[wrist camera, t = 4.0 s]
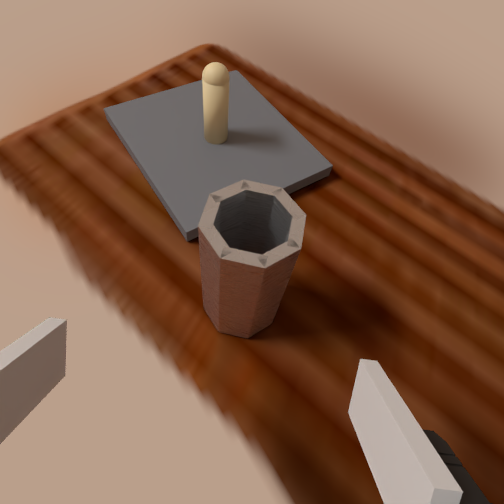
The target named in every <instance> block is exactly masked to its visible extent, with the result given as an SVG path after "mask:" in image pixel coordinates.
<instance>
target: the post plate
mask: <svg viewBox="0 0 504 504" xmlns="http://www.w3.org/2000/svg"><path fill="white" fill-rule="evenodd" d="M104 111H105V114H106V117H107V120H108V122H109V123H110V125H111V126H112V128H113V129H114V131H115V132H116V134H117V135H118V137H119V138H120V140H121V141H122V143H123V144H124V146H125V147H126V149H127V151H128V152H129V154H130V155H131V157H132V158H133V160H134V161H135V163H136V164H137V166H138V167H139V169H140V170H141V172H142V173H143V175H144V176H145V178H146V179H147V181H148V182H149V184H150V186H151V187H152V189H153V190H154V192H155V193H156V195H157V196H158V198H159V199H160V201H161V202H162V204H163V205H164V207H165V208H166V210H167V211H168V213H169V214H170V216H171V217H172V219H173V221H174V222H175V224H176V225H177V227H178V228H179V230H180V231H181V233H182V234H183V236H184V237H185V239H186V240H187V241H189V240H192V239H194V238H196V237H198V236H199V235H198V224H199V222H200V219H201V216H202V213H203V210H204V208H205V205H206V202H207V199H208V197H209V194H211V193H213V192H215V191H218V190H220V189H222V188H225V187H227V186H229V185H232V184H234V183H236V182H239V181H241V180H249V181H253V182H258V183H263V184H267V185H272V186H277V187H281V188H283V189H284V190H285V191H286V193H287V194H290V193H292V192H294V191H297V190H299V189H301V188H303V187H305V186H307V185H309V184H312V183H314V182H316V181H318V180H320V179H322V178H324V177H327V176H329V174H330V171H331V169H332V165H331V164H330V163H329V162H328V161H327V160H326V159H325V158H324V157H323V156H322V155H321V154H320V153H319V152H318V151H317V150H316V149H315V148H314V147H313V146H312V145H311V144H310V143H309V142H308V141H307V140H306V139H305V138H304V137H303V136H302V135H301V134H300V133H299V132H298V131H297V130H296V129H295V128H294V127H293V126H292V125H291V124H290V123H289V122H288V121H287V120H286V119H285V118H284V117H283V116H282V115H281V114H280V113H279V112H278V111H277V110H276V109H275V108H274V107H273V106H272V105H271V104H270V103H269V102H268V101H267V100H266V99H265V98H264V97H263V96H262V95H261V94H260V93H259V92H258V91H257V90H256V89H255V88H254V87H253V86H252V85H251V84H250V83H249V82H248V81H247V80H246V79H245V78H244V77H243V76H242V75H241V74H240V73H239V72H238V71H237V70H235V71H231V72H228V70H227V68H226V67H225V66H224V65H223V64H221V63H218V62H213V63H210V64H208V65H207V66H206V67H205V69H204V70H203V74H202V80H200V81H197V82H193V83H190V84H187V85H183V86H180V87H176V88H173V89H169V90H166V91H162V92H159V93H155V94H152V95H149V96H145V97H142V98H138V99H135V100H131V101H128V102H124V103H121V104H117V105H114V106H111V107H107V108H104Z"/></svg>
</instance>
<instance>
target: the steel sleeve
mask: <svg viewBox="0 0 504 504" xmlns="http://www.w3.org/2000/svg"><path fill="white" fill-rule="evenodd" d="M305 219H306V214H305V213H304V212H303V211H302V210H301V209H300V207H299V206H298V205H297V204H296V203H295V202H294V201H293V199H292V198H291V197H290V196H289V195H288V194H287V193H286V191H285V190H284V189H283V188H281V187H277V186H272V185H267V184H263V183H258V182H253V181H249V180H241V181H239V182H236V183H234V184H232V185H229V186H227V187H225V188H222V189H220V190H218V191H215V192H213V193H211V194H209V197H208V199H207V202H206V205H205V208H204V210H203V213H202V216H201V219H200V222H199V224H198V235H199V249H200V263H201V277H202V291H203V305H204V309H205V311H206V312H207V314H208V316H209V317H210V319H211V321H212V322H213V324H214V325H215V327H216V329H217V330H218V332H221V333H226V334H230V335H234V336H239V337H243V338H247V339H248V338H249V337H251V336H253V335H254V334H256V333H258V332H259V331H261V330H262V329H264V328H266V327H267V326H269V325H270V324H272V322H273V320H274V317H275V315H276V312H277V309H278V307H279V304H280V302H281V299H282V297H283V294H284V291H285V289H286V286H287V284H288V281H289V279H290V276H291V273H292V271H293V268H294V266H295V263H296V261H297V258H298V255H299V253H300V250H301V246H302V239H303V232H304V226H305Z"/></svg>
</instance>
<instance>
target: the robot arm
mask: <svg viewBox="0 0 504 504" xmlns="http://www.w3.org/2000/svg"><path fill="white" fill-rule="evenodd" d="M66 326H67V320H66V319H58V318H51V317H49V318H48V319H46V320H45V321H43V322H42V323H40V324H39V325H37V326H36V327H35V328H33V329H32V330H30V331H29V332H27V333H26V334H24V335H23V336H21V337H20V338H19V339H17V340H16V341H14V342H13V343H11V344H10V345H9V346H7V347H6V348H4V349H3V350H1V351H0V444H1V443H2V442H3V441H4V440H5V438H6V437H7V436H8V435H9V434H10V433H11V432H12V431H13V430H14V429H15V428H16V427H17V426H18V425H19V424H20V423H21V422H22V420H24V418H25V417H26V416H27V415H28V414H29V413H30V412H31V411H32V410H33V409H34V408H35V407H36V406H37V405H38V404H39V403H40V402H41V400H42V399H43V398H44V397H45V396H46V395H47V394H48V393H49V392H50V391H51V390H52V389H53V388H54V387H55V386H56V385H57V384H58V382H60V380H61V379H62V378H63V377H64V376H65V364H66V363H65V362H66V328H67V327H66ZM348 413H349V416H350V418H351V421H352V423H353V426H354V428H355V431H356V433H357V436H358V439H359V441H360V444H361V446H362V449H363V451H364V454H365V456H366V459H367V462H368V464H369V467H370V469H371V472H372V474H373V477H374V479H375V482H376V484H377V487H378V490H379V492H380V495H381V497H382V500H383V502H384V504H492V503H489V501H488V500H487V498H486V497H485V496H484V494H483V493H482V491H481V490H480V489H479V487H478V486H477V484H476V483H475V482H474V480H473V479H472V477H471V476H470V475H469V473H468V472H467V470H466V469H465V468H464V467H463V466H462V463H461V462H460V461H459V459H458V458H457V457H455V454H454V452H453V451H452V450H451V448H450V447H449V445H448V444H447V443H446V442H445V441H444V440H443V439H442V438H441V437H440V436H438V435H437V434H436V433H435V432H434V431H430V430H422V429H421V427H420V425H419V424H418V422H417V421H416V419H415V418H414V416H413V415H412V413H411V412H410V410H409V409H408V407H407V406H406V404H405V403H404V401H403V400H402V398H401V397H400V395H399V394H398V392H397V390H396V389H395V387H394V386H393V384H392V383H391V381H390V380H389V378H388V377H387V375H386V374H385V372H384V371H383V369H382V368H381V366H380V365H379V363H378V362H377V361H373V360H366V359H360V363H359V367H358V371H357V376H356V380H355V385H354V389H353V393H352V398H351V402H350V407H349V411H348Z"/></svg>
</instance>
